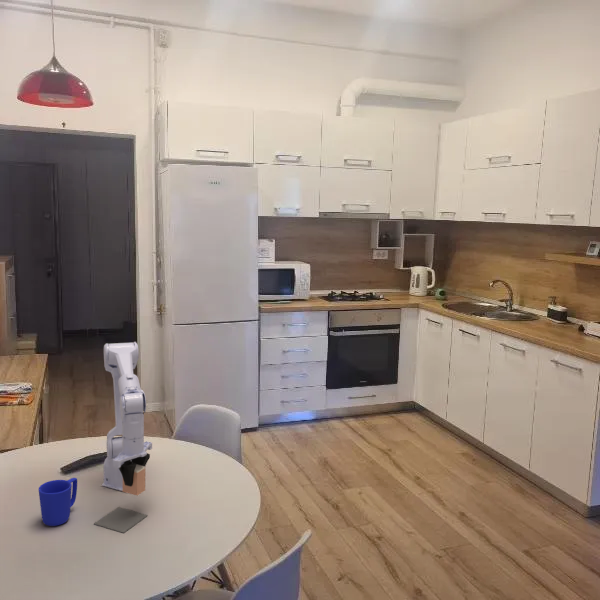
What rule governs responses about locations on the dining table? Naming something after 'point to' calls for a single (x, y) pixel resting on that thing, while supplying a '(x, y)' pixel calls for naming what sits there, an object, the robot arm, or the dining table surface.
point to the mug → (57, 500)
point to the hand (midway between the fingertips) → (133, 482)
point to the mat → (120, 519)
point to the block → (136, 481)
